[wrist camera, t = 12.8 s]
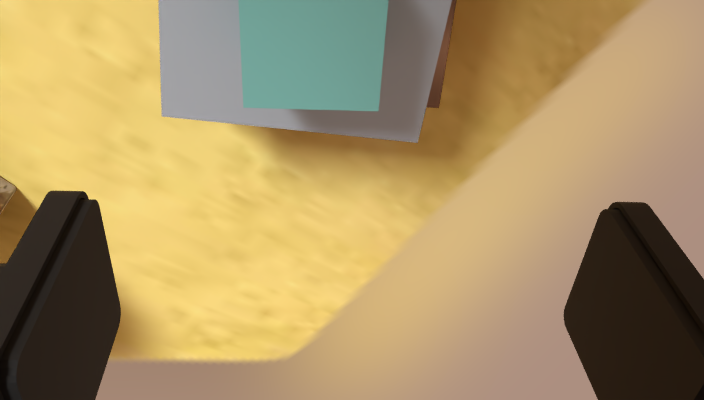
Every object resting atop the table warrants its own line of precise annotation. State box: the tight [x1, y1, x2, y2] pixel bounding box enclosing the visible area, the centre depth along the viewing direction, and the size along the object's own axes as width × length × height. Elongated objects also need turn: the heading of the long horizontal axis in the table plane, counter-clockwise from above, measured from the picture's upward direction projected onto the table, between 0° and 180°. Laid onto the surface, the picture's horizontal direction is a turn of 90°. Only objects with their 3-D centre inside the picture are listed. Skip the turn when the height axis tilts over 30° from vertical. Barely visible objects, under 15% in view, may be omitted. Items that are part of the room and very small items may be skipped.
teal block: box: [238, 0, 388, 111], centre depth 24 cm, size 5×5×5 cm
